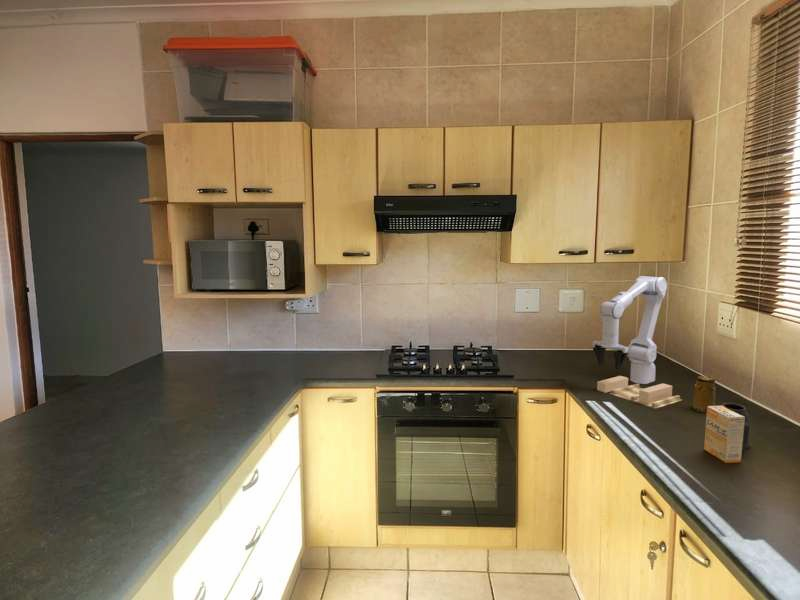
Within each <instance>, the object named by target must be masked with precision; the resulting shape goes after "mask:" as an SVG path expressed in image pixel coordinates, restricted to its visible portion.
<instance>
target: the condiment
mask: <svg viewBox="0 0 800 600" xmlns="http://www.w3.org/2000/svg"><path fill="white" fill-rule="evenodd" d="M715 382H716V380H715V378H713V377H710V376H702V375H701V376H700V375H699V376H697V377H696V381H695V383H696V384H695V385H694V391H693V392H694V394H693V406H692V407H693V409H694V410H695V411H697V412H701V413H706V414H707V407H708V406H716V386H715V384H716V383H715Z"/></svg>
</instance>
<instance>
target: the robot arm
mask: <svg viewBox="0 0 800 600" xmlns="http://www.w3.org/2000/svg"><path fill="white" fill-rule="evenodd" d="M667 283H668V282H667V280H666V279H665V277H663V276H648V275H647V276H644V275H640V276H638V277H637V278H635V282H634V284H633V285H632V286H631V287H630V288H629V289H628V290H627V291H620V292H618V294H617V295H616V296H614V297H613V298H612V299H610V300H609V301H605V302H603V303H602V304H601V305H600V307H599V314H600V317H601V321H602V332H601V334H602V335H601V337H602V339H601V340H592V346H594V347H592V350H593V352H594V354H595V356H596V359H597V363H598V366H603V365H604V363H605V355H606V351H607V350H606V349H608V350H612V351H613V356H614V362H615V364H614V365H615V366H614V367H615V368H614V369H615V370H617V371H618V370H621V368H622V365H623V362H624V360H625V358H626V357H627V358H628V359H629V361H630V375H629V376H630V378H629V381H630V382H631V383H634V384H643V385H645V384H650V383H653V382H655V381H656V365H655V363H654V362H655V360H656V358H657V350H658V349H657V348H658V345H657V344H655V342H654V341H653V340H652V339H653V336H654V333H655V328H656V325H657V321H658V318H659V313H660V308H661V306H662V302H663V300H664V299H665V296H666V292H667V288H668V284H667ZM639 295H642V297H644V298H645V300H646V302H645V307H644V310H643V314H642V319H641V321H640V325H639V330H638V335H637V336H636V337H635V338H632V339H631V340H630V343H629V344H628V346H624V345H623V344H620V343H619V336H620V335H619V331H620V330H619V329H620V328H619V327H620V318H621V317H622V316H623V313H624V311H625V309H627V308H628V307H629V306H630V305H632V304H633V302H634V300H633V299H635V298H636V297H638V296H639Z"/></svg>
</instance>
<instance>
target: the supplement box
mask: <svg viewBox="0 0 800 600" xmlns="http://www.w3.org/2000/svg"><path fill="white" fill-rule="evenodd" d="M744 421H745V417H744V416H742V415H740V414H738V413H736V412H734V411H732V410H730V409H727V408H725V407H724V406H722V405H715V406H708V407H707V413H706V419H705V430H704V431H705V432H704V445H703V446H704V447H703V449H704V451H705V450H706V452H707V453H709V454H711V455H712V456H714V457H716V458H717V459H719V460H721V461H722V462H723V463H725V464H734V463H741V462H742V452H743V450H742V443H743V432H744Z"/></svg>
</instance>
